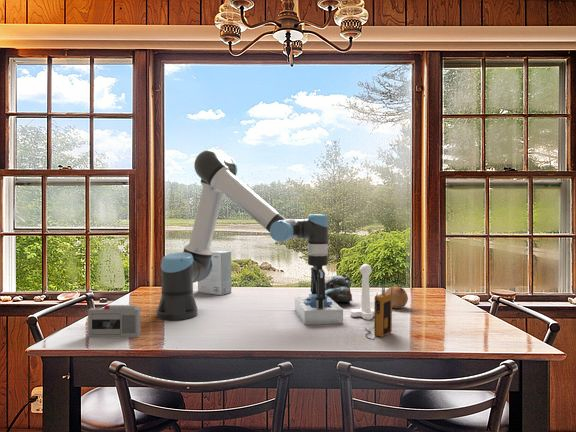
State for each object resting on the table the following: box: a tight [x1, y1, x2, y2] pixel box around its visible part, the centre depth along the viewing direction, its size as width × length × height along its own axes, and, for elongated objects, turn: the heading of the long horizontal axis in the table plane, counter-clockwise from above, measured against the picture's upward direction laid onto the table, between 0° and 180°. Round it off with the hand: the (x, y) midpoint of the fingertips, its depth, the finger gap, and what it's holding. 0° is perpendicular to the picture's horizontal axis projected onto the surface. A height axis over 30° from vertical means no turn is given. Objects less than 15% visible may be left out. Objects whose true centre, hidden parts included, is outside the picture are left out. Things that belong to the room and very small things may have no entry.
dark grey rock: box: [325, 274, 353, 303], centre depth 187 cm, size 15×12×14 cm
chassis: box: [294, 296, 344, 326], centre depth 163 cm, size 14×22×5 cm, turn 8°
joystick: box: [350, 263, 374, 320], centre depth 162 cm, size 11×8×20 cm
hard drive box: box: [197, 250, 232, 296], centre depth 207 cm, size 16×8×20 cm, turn 58°
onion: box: [385, 286, 409, 309], centre depth 177 cm, size 10×9×10 cm
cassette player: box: [87, 304, 142, 339], centre depth 138 cm, size 16×3×10 cm, turn 92°
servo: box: [304, 293, 332, 308], centre depth 163 cm, size 10×4×9 cm, turn 98°
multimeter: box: [364, 272, 393, 341], centre depth 143 cm, size 15×10×20 cm
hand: (317, 314), depth 164 cm, fingers open, 8 cm apart
